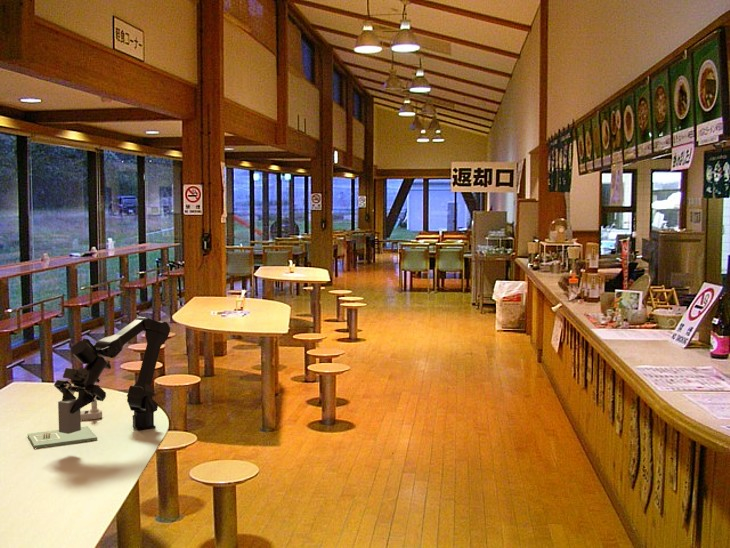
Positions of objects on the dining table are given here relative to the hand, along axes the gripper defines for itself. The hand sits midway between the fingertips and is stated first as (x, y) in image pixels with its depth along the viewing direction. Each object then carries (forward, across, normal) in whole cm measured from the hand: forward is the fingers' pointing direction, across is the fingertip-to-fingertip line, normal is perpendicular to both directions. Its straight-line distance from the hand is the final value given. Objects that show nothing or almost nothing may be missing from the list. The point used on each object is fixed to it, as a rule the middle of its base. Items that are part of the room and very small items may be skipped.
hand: (66, 412), depth 256 cm
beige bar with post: (-13, -29, +33) cm, 46 cm away
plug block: (+4, 0, +6) cm, 7 cm away
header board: (+2, -15, +17) cm, 23 cm away
